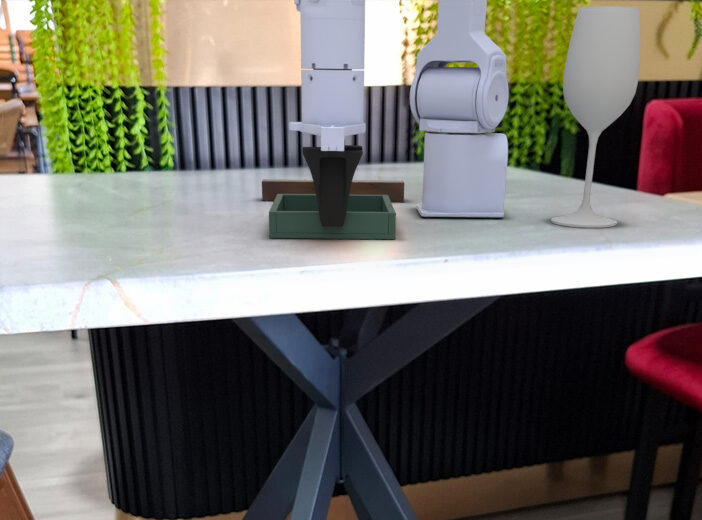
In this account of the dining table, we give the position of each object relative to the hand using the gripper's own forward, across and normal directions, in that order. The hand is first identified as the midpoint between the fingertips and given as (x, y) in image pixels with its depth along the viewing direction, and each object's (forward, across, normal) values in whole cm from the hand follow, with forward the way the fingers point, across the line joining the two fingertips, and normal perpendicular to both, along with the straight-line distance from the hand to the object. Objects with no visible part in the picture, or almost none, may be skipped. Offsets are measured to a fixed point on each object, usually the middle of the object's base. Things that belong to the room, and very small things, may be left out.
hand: (332, 225), depth 87 cm
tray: (+1, -8, 0) cm, 8 cm away
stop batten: (+1, -30, 0) cm, 30 cm away
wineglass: (+2, -13, +28) cm, 31 cm away
